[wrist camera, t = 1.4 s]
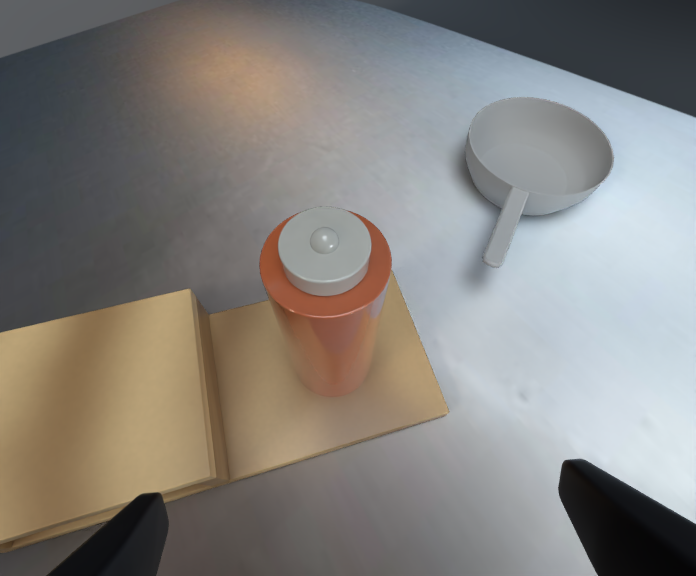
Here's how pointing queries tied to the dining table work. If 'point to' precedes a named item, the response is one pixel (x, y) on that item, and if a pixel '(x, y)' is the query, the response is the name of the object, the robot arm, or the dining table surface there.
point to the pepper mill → (327, 294)
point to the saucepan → (533, 162)
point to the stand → (177, 407)
